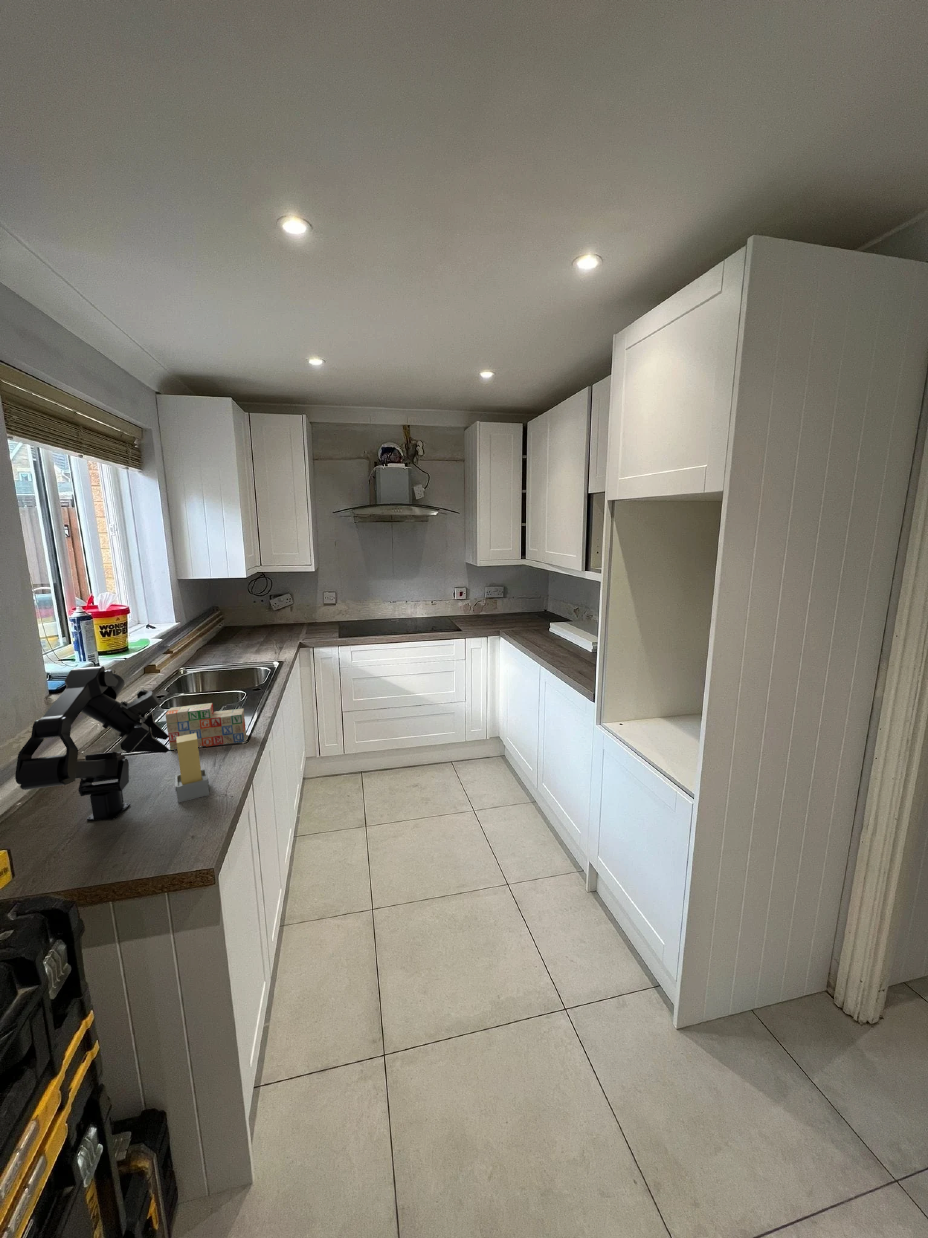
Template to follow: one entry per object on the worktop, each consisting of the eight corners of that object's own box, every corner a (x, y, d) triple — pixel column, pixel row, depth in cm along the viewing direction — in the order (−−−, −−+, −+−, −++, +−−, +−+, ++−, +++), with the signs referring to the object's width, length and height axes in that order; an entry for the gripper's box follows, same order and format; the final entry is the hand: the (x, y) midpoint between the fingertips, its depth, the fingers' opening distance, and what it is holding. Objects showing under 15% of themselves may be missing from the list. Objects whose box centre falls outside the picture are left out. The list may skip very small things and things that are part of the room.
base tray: (177, 803, 124) (175, 787, 123) (176, 790, 130) (175, 775, 129) (210, 795, 127) (208, 779, 127) (208, 783, 134) (206, 768, 133)
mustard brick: (182, 788, 125) (176, 743, 123) (181, 780, 129) (176, 736, 127) (202, 783, 127) (197, 739, 125) (201, 776, 131) (196, 733, 129)
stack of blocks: (246, 734, 166) (243, 699, 164) (244, 742, 160) (240, 705, 158) (174, 743, 160) (170, 707, 158) (169, 751, 154) (164, 713, 152)
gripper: (131, 694, 112) (192, 730, 120) (135, 674, 128) (189, 707, 136) (93, 735, 110) (157, 769, 117) (102, 710, 126) (159, 741, 133)
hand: (167, 744), depth 126 cm, fingers open, 9 cm apart
